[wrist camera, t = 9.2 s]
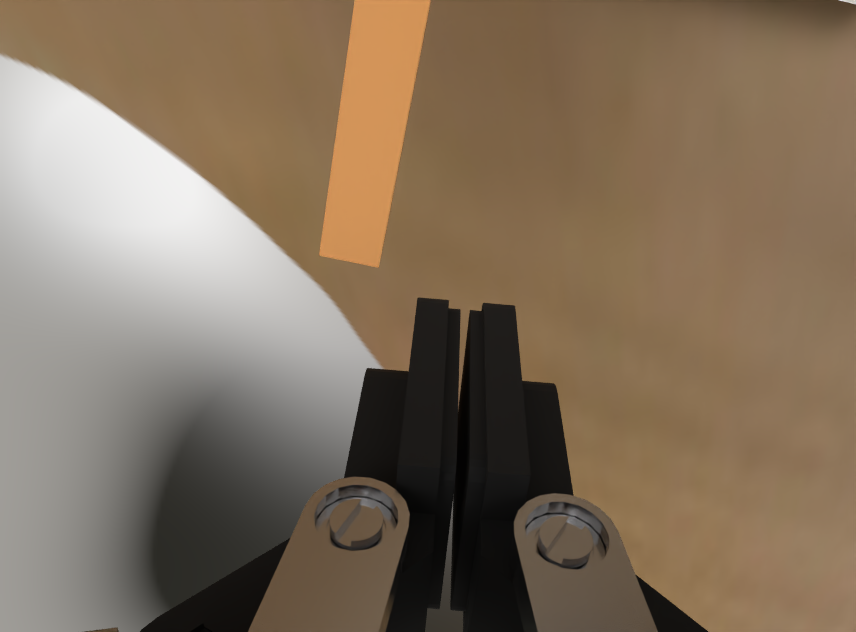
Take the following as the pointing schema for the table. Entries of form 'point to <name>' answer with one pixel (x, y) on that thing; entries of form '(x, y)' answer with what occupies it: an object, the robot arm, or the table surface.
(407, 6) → the orange piece
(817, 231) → the table surface
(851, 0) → the socket block
